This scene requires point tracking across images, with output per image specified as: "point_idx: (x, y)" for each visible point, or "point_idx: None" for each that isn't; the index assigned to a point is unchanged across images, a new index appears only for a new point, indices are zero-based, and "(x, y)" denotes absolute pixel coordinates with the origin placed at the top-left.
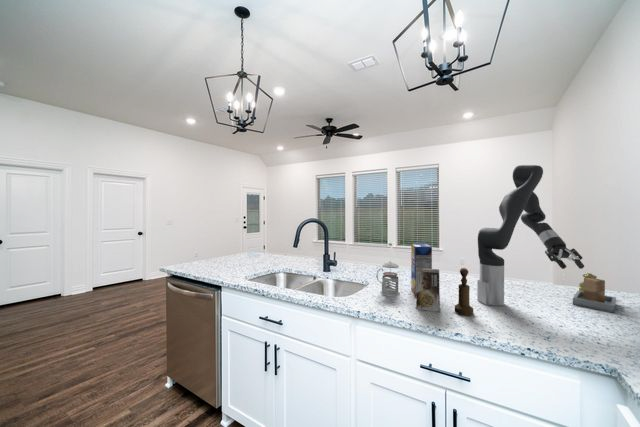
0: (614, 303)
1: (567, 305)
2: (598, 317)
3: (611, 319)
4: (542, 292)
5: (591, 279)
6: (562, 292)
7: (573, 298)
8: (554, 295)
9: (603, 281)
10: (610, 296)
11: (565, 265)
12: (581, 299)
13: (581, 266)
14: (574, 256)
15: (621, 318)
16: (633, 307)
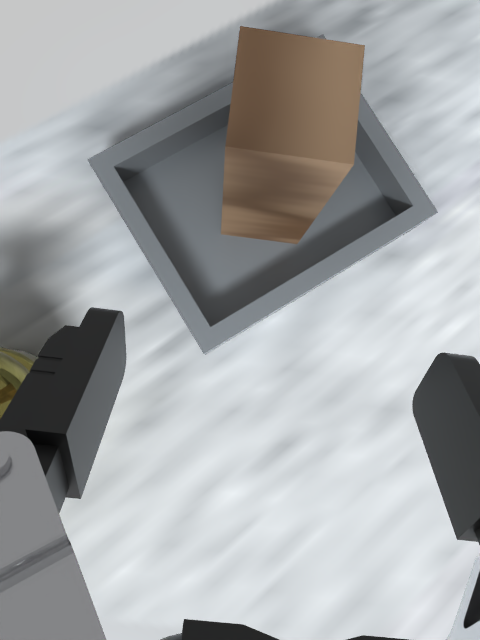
0: None
1: (460, 224)
2: (477, 41)
3: (436, 8)
4: (362, 506)
5: (339, 94)
6: (193, 482)
7: (432, 210)
8: (339, 422)
9: (257, 37)
10: (103, 184)
11: (465, 362)
12: (410, 172)
13: (120, 337)
14: (45, 548)
15: (365, 6)
16: (59, 117)
